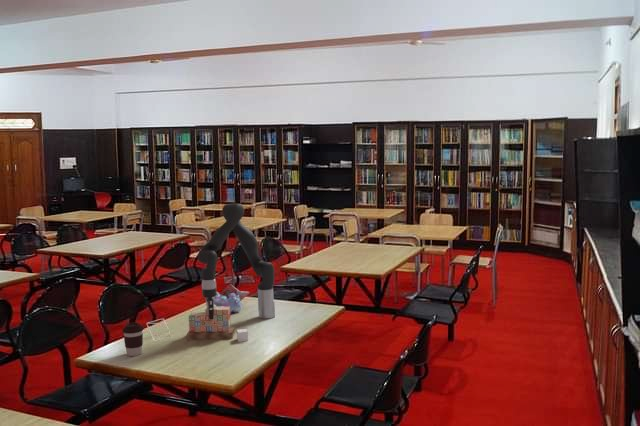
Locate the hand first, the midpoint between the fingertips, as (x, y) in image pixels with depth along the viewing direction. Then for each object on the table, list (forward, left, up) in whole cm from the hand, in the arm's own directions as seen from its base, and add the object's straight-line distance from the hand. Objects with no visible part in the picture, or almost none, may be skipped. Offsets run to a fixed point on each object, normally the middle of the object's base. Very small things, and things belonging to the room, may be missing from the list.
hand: (210, 317), depth 308 cm
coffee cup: (+39, +14, -11) cm, 43 cm away
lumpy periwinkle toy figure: (-16, -49, -11) cm, 53 cm away
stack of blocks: (0, 0, -8) cm, 8 cm away
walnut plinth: (0, 0, -11) cm, 11 cm away
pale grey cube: (-15, +12, -11) cm, 22 cm away
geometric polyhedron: (+27, -8, -11) cm, 30 cm away
